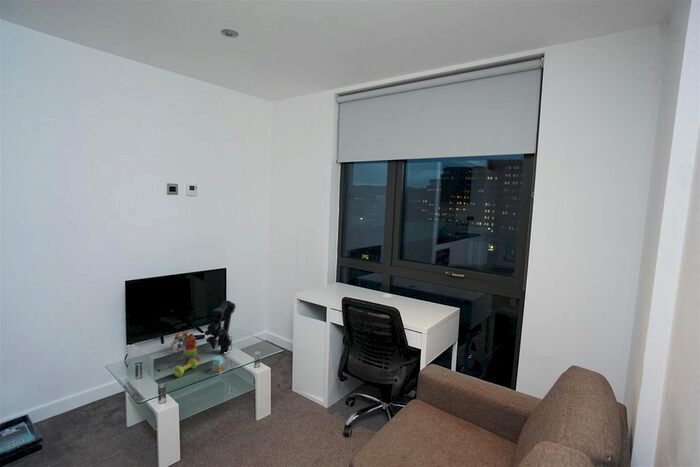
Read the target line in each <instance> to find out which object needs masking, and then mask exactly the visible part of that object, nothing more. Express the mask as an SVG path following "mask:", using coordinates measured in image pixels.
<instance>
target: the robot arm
mask: <svg viewBox="0 0 700 467" xmlns="http://www.w3.org/2000/svg"><path fill="white" fill-rule="evenodd" d="M236 307H237V306H236V304H235V303H234V302H231V300H223V301H222V303H221V304H220V305H219V307H217V308H214V309H213V310H212V311H211V313H210V317H209V322H210V323H209V324H208V326H207V329H206V330H205V331H204V336H208V337H207V338H206V341H205V342H206V343H208V344H210V346H211V348H212V350H215V348H216V346H217V345H218V346H220V351H219V352H218V354H220V353H224V352H227V351H228V350H229V347H231V345H232V340H231V339H230V337H231V336H230V334H229V331H230V326H231V325H230V324H231V320H232V315H233V314H234V312H235V310H236ZM223 317H224V320H223ZM222 320H223V326H222ZM216 344H217V345H216Z"/></svg>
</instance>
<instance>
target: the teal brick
mask: <svg viewBox="0 0 700 467" xmlns="http://www.w3.org/2000/svg"><path fill="white" fill-rule="evenodd" d="M223 363H224V356H219V355H218V356H217V355H216V356H215V357H214V358H213V360H212V365H214V366H220V365H221V364H223Z"/></svg>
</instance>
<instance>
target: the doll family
mask: <svg viewBox="0 0 700 467" xmlns="http://www.w3.org/2000/svg"><path fill="white" fill-rule="evenodd" d="M180 335H181V336H180ZM173 337H174V339H173V341H172V343H171V346H170V347H171V348H172V353H173V352H175V354H174V355H176V354H177V353H176V351H177V352H178V353H179V352H180V350H179V348H182V347H183V346H185V345H186V340H187V339H189V338H191V337H193V339H195V340H196V337H195V336H194V334H193V333H190V334H189V333H188V331H184V332H183V333H182V334H180V333H179V332H177V333H175V334H174V336H173Z"/></svg>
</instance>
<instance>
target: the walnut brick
mask: <svg viewBox="0 0 700 467" xmlns="http://www.w3.org/2000/svg"><path fill="white" fill-rule="evenodd" d="M224 367H225V362H223V364H221V365H220V366H214V365H213V364H212V366H211V369H212V372H218V373H220V372H221V371H222V370H223V369H224Z"/></svg>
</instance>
